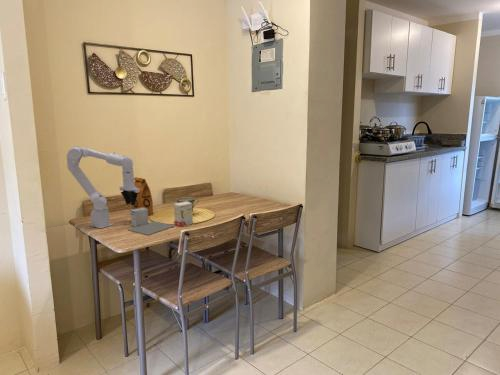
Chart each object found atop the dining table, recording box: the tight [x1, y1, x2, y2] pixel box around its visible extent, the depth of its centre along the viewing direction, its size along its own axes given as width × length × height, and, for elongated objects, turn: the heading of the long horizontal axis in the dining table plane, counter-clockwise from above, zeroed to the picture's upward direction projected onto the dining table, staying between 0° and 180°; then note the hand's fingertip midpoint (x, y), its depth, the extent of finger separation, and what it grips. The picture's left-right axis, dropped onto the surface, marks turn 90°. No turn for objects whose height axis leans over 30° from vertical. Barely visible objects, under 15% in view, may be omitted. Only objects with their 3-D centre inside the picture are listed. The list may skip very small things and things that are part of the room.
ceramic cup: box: [176, 196, 200, 215], centre depth 217 cm, size 13×10×10 cm
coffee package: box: [131, 176, 154, 216], centre depth 220 cm, size 10×12×22 cm
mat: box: [127, 220, 176, 236], centre depth 192 cm, size 16×18×1 cm
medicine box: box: [129, 208, 149, 228], centre depth 198 cm, size 8×4×9 cm, turn 141°
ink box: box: [173, 201, 194, 228], centre depth 197 cm, size 9×5×12 cm, turn 135°
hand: (130, 204), depth 201 cm, fingers open, 4 cm apart
